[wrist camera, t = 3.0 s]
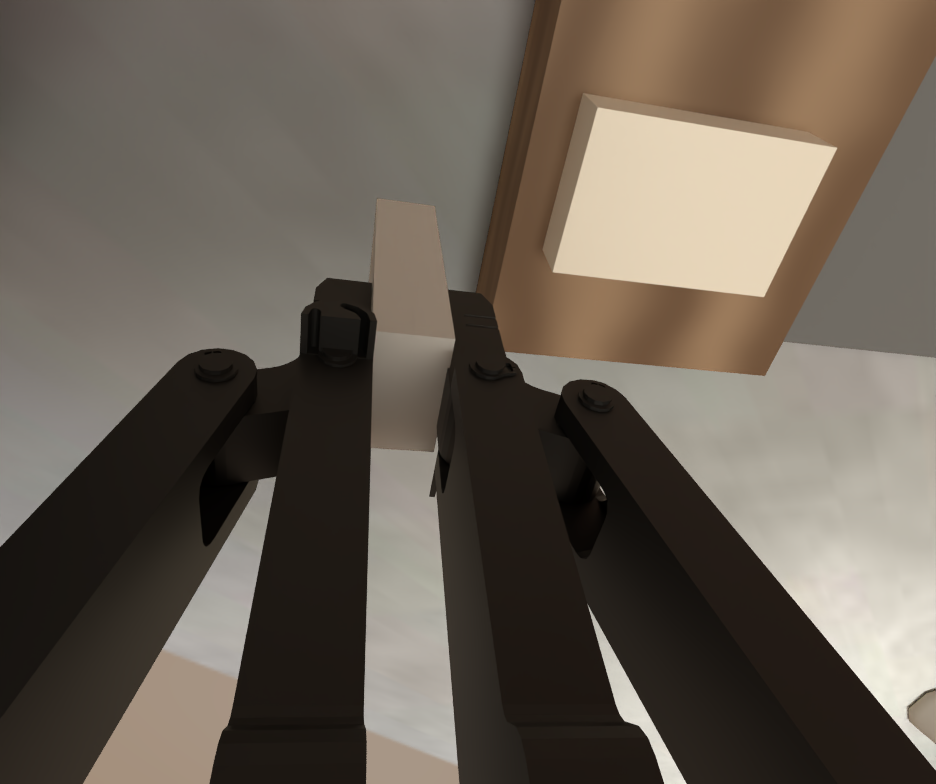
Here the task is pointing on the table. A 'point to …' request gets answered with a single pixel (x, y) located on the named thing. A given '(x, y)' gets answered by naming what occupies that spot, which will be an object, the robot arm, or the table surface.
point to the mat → (885, 251)
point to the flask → (925, 715)
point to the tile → (680, 197)
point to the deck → (707, 92)
